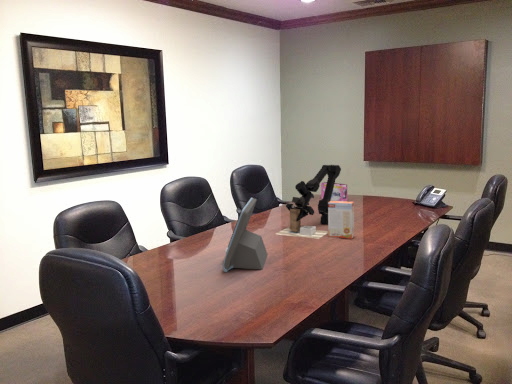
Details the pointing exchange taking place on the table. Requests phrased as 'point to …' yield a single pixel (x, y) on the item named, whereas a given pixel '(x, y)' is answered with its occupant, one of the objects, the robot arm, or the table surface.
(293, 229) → the walnut block
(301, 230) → the sleeve
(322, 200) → the robot arm
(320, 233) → the board
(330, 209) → the cracker box
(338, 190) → the gum box
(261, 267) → the touchscreen device
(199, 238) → the table surface
